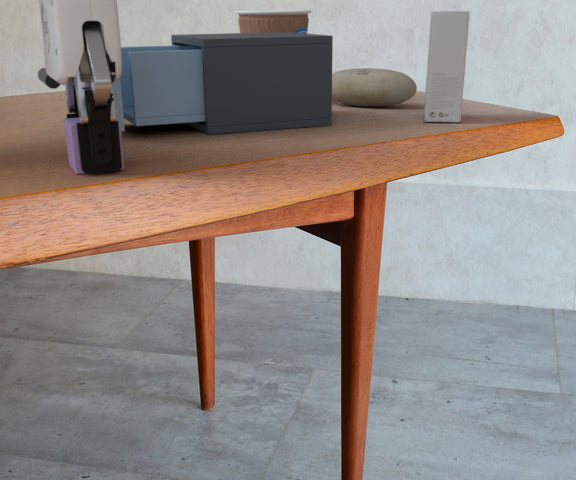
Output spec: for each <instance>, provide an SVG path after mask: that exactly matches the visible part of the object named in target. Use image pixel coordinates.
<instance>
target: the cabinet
mask: <svg viewBox="0 0 576 480" xmlns="http://www.w3.org/2000/svg"><path fill="white" fill-rule="evenodd" d="M170 37H171V38H170V39H171V46H172V45H193V46H199V47H202V58H203V79H204V100H205V122H191V123H185V124H186V125H187V126H190V127H192V128H194V129H196V130H198V131H200V132H202V133H203V134H206V135H208V136H211V135H222V134H224V135H225V134H235V133H248V132H249V133H250V132H261V131H274V130H286V129H298V128H299V129H301V128H313V127H314V128H315V127H325V126H332V116H333V115H332V114H333V112H332V111H333V108H332V107H333V101H332V100H333V99H332V74H333V40H334V37H333V35H330V34H329V35H327V34H315V33H307V34H305V33H292V32H268V33H240V32H236V33H235V32H234V33H233V32H232V33H231V32H229V33H197V34H196V33H195V34H194V33H192V34H171V35H170Z"/></svg>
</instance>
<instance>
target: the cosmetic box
mask: <svg viewBox="0 0 576 480" xmlns="http://www.w3.org/2000/svg"><path fill="white" fill-rule="evenodd" d="M429 21H430V24H429V36H428V39H429V40H428V52H427V65H426V80H425V81H426V82H425V94H424V104H423V106H424V107H423V122H426V123H461V120H462V109H463V98H464V85H465V74H466V73H465V72H466V71H465V70H466V61H467V51H468V50H467V49H468V37H469V25H470V24H469V23H470V11H468V10H431V11H430V20H429Z"/></svg>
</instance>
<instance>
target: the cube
mask: <svg viewBox="0 0 576 480" xmlns="http://www.w3.org/2000/svg"><path fill="white" fill-rule="evenodd" d="M117 121H118V120H117ZM76 123H81V122H80V117H79V118H67V117H65V118H63V125H64V135H65V143H66V151H67V159H68V166H69V167H70V168H71V169H72V171H73V172H74V174H76V175H82V174H84V175H85V173H84V172H83V171H82V169H81V160H80V151H79V142H78V133H77V124H76ZM118 127H119V138H120V149H121V160H122V168H121V169H120V170H119V171H125V169H126V168H125V158H124V147H123V137H122V131H121V123H120V121H118Z"/></svg>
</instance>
